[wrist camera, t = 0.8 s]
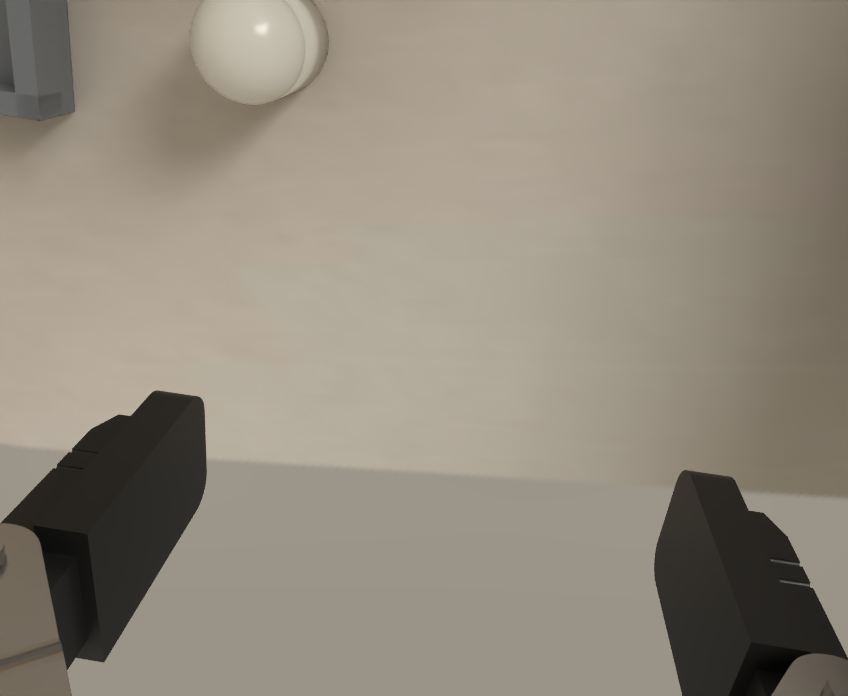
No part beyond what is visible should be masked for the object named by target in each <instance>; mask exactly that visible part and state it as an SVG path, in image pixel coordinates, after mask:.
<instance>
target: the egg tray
mask: <svg viewBox="0 0 848 696" xmlns="http://www.w3.org/2000/svg"><path fill="white" fill-rule="evenodd" d="M74 111H75V109H74V95H73V81H72V68H71V54H70V40H69V27H68V13H67V0H0V114H1V115H7V116H14V117H20V118H26V119H32V120H38V121H41V120H45V119H49V118H52V117H56V116H60V115H63V114H67V113H71V112H74Z"/></svg>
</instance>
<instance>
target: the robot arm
mask: <svg viewBox="0 0 848 696" xmlns="http://www.w3.org/2000/svg"><path fill="white" fill-rule="evenodd" d="M206 474H207V471H206V440H205V411H204V403H203V401H202V399H201V398H200V397H198V396H191V395H184V394H177V393H171V392H164V391H154V392H152V393H151V394H150V395H149V396H148V398H147V399H146V400H145V401H144V402H143V403H142V404H141V405H140V406H139V408H138V409H137V410H136V411H135V412H134V413H133V414H132V415H131V416H125V415H117V416H115V417H113V418H111V419H109V420H108V421H106V422H104V423H102V424H100V425H98V426H96V427H94V428H92V429H91V430H90V431H89V432H88V433H87V434H86V435H85V436H84V437H83V438H82V439H81V440H80V441H79V442H78V443H77V444H76V445H75V446H74V447H73V448H72V453H70V452H69V453H68V454H67V455H66V456H65V457H64V458H63V459H62V460H61V461H60V462H59V463H58V464H57V468H56V469H55V468H54V469H52V471H50V473H48V474H47V475H46V477H45V478H44V479H43V480H42V481H41V482H40V483H39V484H38V485H37V486H36V487H35V488H34V489H33V490H32V491H31V492H30V493H29V494H28V495H27V496H26V497H25V499H24V500H23V501H21V503H20V504H19V505H18V506H17V507H16V508H15V509H14V510H13V511H12V512H11V513H10V514H9V515H8V516H7V517H6V518H5V519H4V520H3V521H2V522H1V523H0V696H72V693H71V689H70V683H69V678H68V673H67V670H68V668H69V667H70V665H71V664H72V662H73V661H74V659H75V658H82V659H88V660H93V661H99V662H104V661H105V660H106V658H107V656H108V655H109V653H110V652H111V650H112V648H113V647H114V645H115V643H116V642H117V640H118V639H119V637H120V635H121V634H122V632H123V630H124V629H125V627H126V625H127V624H128V622H129V620H130V619H131V617H132V616H133V614H134V612H135V611H136V609H137V607H138V606H139V604H140V602H141V601H142V599H143V597H144V596H145V594H146V593H147V591H148V589H149V588H150V586H151V584H152V583H153V581H154V579H155V578H156V576H157V574H158V573H159V571H160V570H161V568H162V566H163V565H164V563H165V561H166V560H167V558H168V556H169V555H170V553H171V551H172V550H173V548H174V547H175V545H176V543H177V542H178V540H179V538H180V537H181V535H182V533H183V532H184V530H185V529H186V527H187V525H188V524H189V522H190V520H191V519H192V517H193V515H194V514H195V512H196V510H197V509H198V507H199V505H200V502H201V499H202V496H203V493H204V489H205V484H206ZM799 563H800V561H799V559H798V557H797V555H796V553H795V551H794V549H793V547H792V545H791V543H790V541H789V539H788V537H787V536H786V535H785V534H784V533H783V532H782V531H781V530H780V529H779V528H778V527H777V526H776V525H775V524H774V523H773V522H772V521H771V520H770V519H769V518H768V517H767V516H766V515H765V514H764V513H760V512H754V511H748V508H747V506H746V504H745V502H744V500H743V497H742V495H741V493H740V491H739V488H738V486H737V484H736V482H735V480H734V479H733V478H732V477H728V476H722V475H715V474H708V473H701V472H695V471H688V470H684V471H683V472H682V473H681V474H680V475H679V477H678V480H677V482H676V485H675V489H674V492H673V495H672V498H671V501H670V504H669V508H668V511H667V514H666V517H665V520H664V524H663V527H662V530H661V533H660V536H659V539H658V543H657V547H656V553H655V563H654V565H655V566H654V572H655V581H656V586H657V590H658V595H659V599H660V603H661V607H662V611H663V616H664V620H665V624H666V628H667V632H668V636H669V641H670V645H671V649H672V653H673V658H674V662H675V666H676V670H677V675H678V679H679V683H680V687H681V691H682V696H848V658H847V656H846V654H845V652H844V650H843V648H842V646H841V643H840V642H839V640H838V637H837V636H836V633H835V632H834V630H833V627H832V625H831V623H830V622H829V619H828V617H827V615H826V614H825V611H824V609H823V607H822V605H821V603H820V601H819V599H818V597H817V595H816V593H815V591H814V589H813V588H810V581H809V579H808V577H807V575H806V573H805V571H804V569H803V567H800V566H799Z"/></svg>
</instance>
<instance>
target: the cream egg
mask: <svg viewBox="0 0 848 696" xmlns="http://www.w3.org/2000/svg"><path fill="white" fill-rule="evenodd" d="M328 47H329V39H328V31H327V27H326V23H325V20H324V18H323V16H322V14H321V12H320V10H319V9H318V7H317V5H316V4H315V3H314V2H313V1H312V0H203V1H202V2H201V3H200V5H199V6H198V8H197V10H196V12H195V14H194V16H193V20H192V23H191V28H190V48H191V53H192V57H193V60H194V63H195V65H196V67H197V69H198V71H199V73H200V74H201V76H202V77H203V79H204V80H205V81H206V82H207V83H208V85H209V86H210V87H211V88H213V89H214V90H215V91H216V92H217V93H219V94H220V95H222V96H223V97H225V98H227V99H229V100H231V101H234V102H237V103H242V104H247V105H260V104H265V103H269V102H272V101H275V100H277V99H279V98H282V97H284V96H286V95H288V94H290V93H293V92H295V91H297V90H299V89H301V88H303V87H305V86H307V85H308V84H310V83H311V82H312V81H313V80H314V79H315V78H316V77H317V76H318V74H319V73H320V72H321V70H322V68H323V66H324V64H325V61H326V58H327V54H328Z"/></svg>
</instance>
